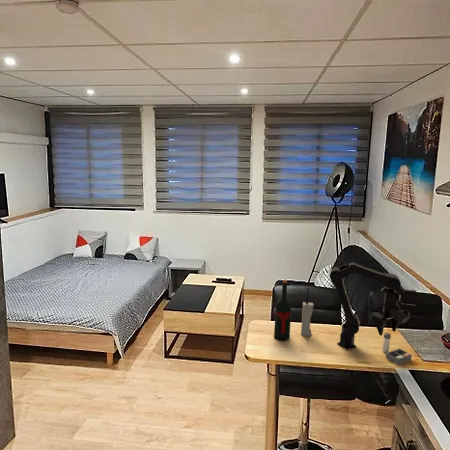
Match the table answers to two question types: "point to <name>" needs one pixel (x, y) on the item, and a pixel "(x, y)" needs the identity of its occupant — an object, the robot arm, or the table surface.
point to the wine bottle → (283, 316)
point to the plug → (386, 342)
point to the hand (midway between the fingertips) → (387, 333)
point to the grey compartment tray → (398, 356)
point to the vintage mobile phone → (306, 317)
